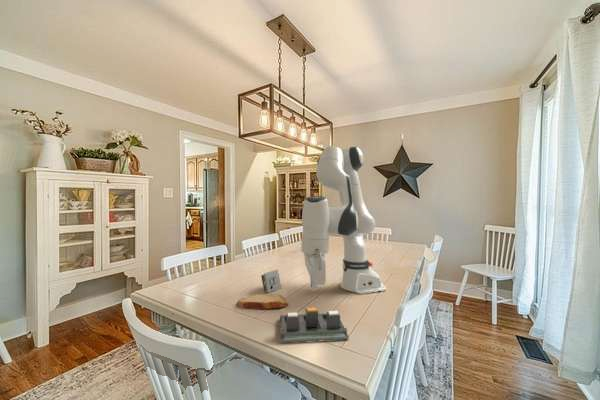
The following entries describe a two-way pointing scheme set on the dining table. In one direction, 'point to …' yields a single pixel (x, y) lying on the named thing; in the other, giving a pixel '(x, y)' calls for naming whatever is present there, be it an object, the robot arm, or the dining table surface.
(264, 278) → the electrical switch
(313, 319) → the breaker mid
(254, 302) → the slice of bread
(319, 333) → the panel
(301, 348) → the dining table surface
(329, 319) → the breaker
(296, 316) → the breaker
